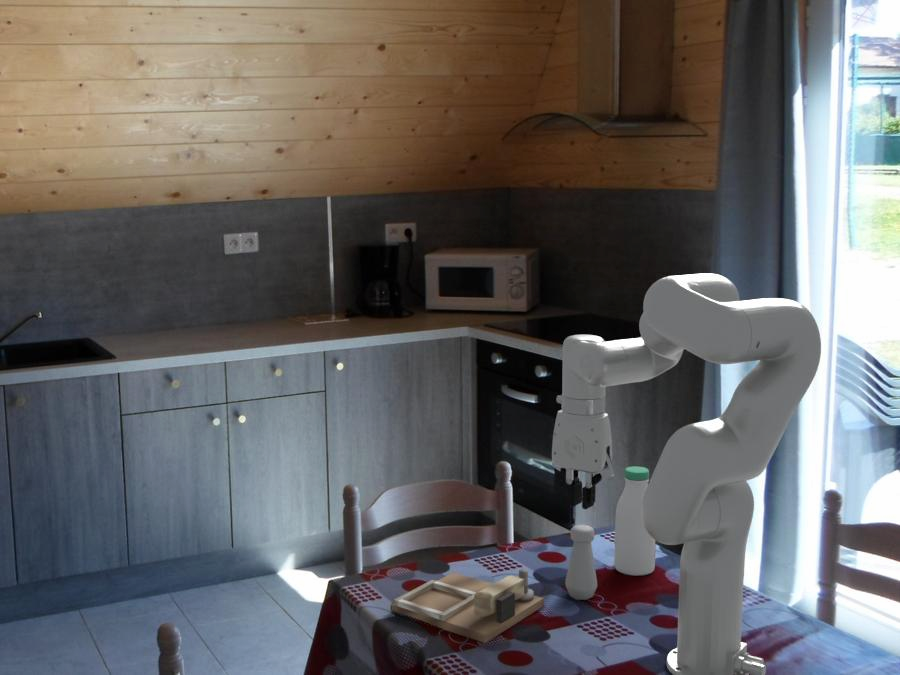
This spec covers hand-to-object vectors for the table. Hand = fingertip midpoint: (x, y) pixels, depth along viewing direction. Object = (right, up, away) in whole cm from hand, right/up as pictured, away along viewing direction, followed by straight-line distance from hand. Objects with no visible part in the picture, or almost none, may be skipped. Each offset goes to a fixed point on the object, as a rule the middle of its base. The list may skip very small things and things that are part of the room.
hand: (581, 505), depth 190 cm
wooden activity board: (-20, -18, -3) cm, 27 cm away
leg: (-15, -16, -8) cm, 23 cm away
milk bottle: (+12, -15, +15) cm, 24 cm away
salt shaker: (0, -17, +3) cm, 17 cm away
